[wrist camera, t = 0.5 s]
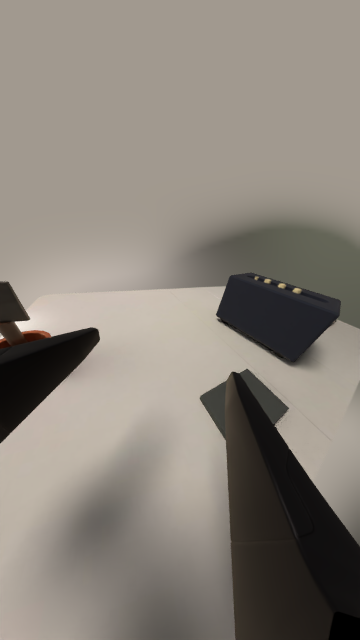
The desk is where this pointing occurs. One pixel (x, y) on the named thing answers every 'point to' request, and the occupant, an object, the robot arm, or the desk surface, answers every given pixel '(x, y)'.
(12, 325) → the spatula
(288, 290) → the speaker
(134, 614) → the desk surface
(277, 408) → the mat
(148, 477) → the desk surface
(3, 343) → the crock
